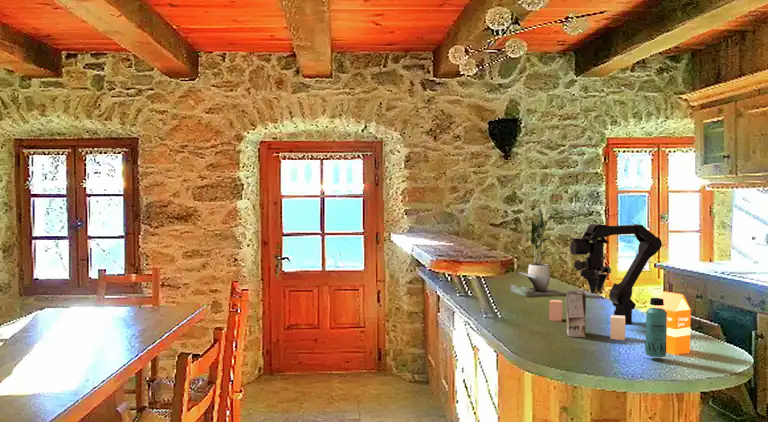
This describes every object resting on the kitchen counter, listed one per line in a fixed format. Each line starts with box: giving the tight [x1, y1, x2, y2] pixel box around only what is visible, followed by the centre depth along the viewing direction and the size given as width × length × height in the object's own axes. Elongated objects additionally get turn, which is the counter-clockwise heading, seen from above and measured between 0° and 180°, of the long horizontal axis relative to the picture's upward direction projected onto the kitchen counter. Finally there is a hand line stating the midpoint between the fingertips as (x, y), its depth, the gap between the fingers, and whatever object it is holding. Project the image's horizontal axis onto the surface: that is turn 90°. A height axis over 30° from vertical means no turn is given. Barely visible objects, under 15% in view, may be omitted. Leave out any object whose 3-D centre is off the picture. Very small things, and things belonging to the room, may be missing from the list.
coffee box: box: [565, 290, 587, 338], centre depth 243 cm, size 9×6×16 cm
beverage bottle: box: [644, 297, 668, 358], centre depth 207 cm, size 6×7×20 cm
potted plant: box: [509, 208, 565, 298], centre depth 339 cm, size 22×19×45 cm
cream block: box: [609, 314, 626, 341], centre depth 238 cm, size 5×5×8 cm
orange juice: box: [653, 290, 692, 356], centre depth 219 cm, size 8×9×20 cm
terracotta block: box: [548, 299, 563, 322], centre depth 271 cm, size 5×5×8 cm
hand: (595, 292), depth 263 cm, fingers open, 6 cm apart
